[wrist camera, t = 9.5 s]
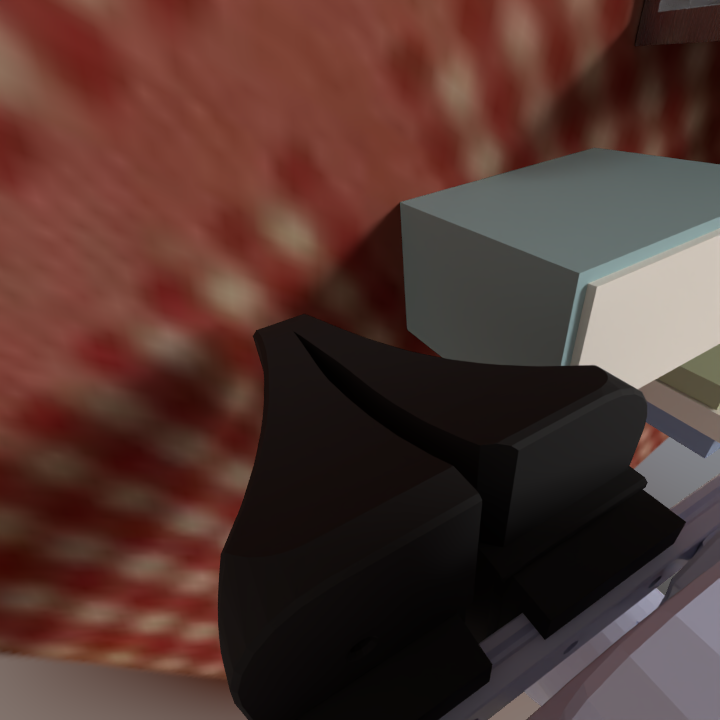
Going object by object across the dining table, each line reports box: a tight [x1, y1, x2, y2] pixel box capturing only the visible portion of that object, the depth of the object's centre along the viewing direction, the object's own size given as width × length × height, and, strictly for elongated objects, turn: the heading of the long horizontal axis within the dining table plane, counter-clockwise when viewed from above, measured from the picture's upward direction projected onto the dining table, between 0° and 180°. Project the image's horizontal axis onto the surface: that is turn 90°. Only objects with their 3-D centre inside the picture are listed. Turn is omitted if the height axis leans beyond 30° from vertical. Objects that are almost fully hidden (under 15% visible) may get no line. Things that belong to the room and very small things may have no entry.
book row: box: [638, 344, 720, 458], centre depth 19 cm, size 3×9×7 cm, turn 97°
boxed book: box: [400, 148, 720, 389], centre depth 13 cm, size 4×8×6 cm, turn 97°
